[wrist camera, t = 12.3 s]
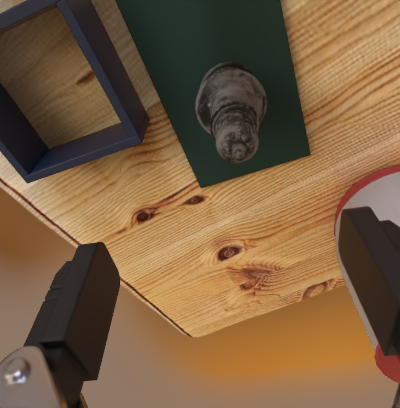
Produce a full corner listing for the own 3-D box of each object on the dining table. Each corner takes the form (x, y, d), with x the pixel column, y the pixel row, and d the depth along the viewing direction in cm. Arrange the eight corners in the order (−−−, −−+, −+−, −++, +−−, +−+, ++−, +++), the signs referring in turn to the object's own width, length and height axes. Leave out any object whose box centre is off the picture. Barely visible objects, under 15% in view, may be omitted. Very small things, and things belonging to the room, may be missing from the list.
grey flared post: (274, 89, 29) (308, 152, 20) (229, 134, 32) (240, 210, 23) (227, 42, 27) (239, 88, 18) (183, 96, 30) (172, 161, 20)
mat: (110, -16, 25) (108, -15, 25) (261, -89, 23) (262, -90, 22) (200, 185, 37) (200, 188, 36) (309, 152, 34) (310, 155, 33)
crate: (-40, 40, 28) (-81, 54, 24) (81, -20, 25) (58, -16, 21) (47, 157, 35) (27, 183, 31) (150, 120, 32) (142, 143, 28)
